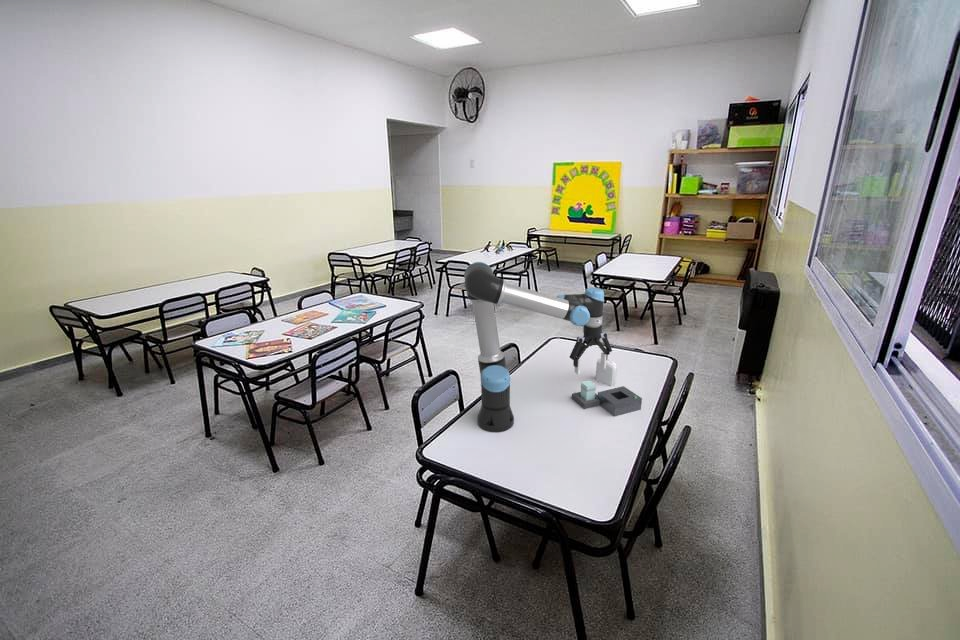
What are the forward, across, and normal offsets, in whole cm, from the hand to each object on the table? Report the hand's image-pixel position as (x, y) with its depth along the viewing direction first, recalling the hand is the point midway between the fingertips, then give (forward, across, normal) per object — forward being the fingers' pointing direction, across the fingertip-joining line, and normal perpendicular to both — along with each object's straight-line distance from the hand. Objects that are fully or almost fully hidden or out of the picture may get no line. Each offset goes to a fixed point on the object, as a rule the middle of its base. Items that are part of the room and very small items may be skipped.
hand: (590, 370), depth 191 cm
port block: (+16, +10, -9) cm, 21 cm away
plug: (+16, 0, 0) cm, 16 cm away
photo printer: (+16, +19, +12) cm, 28 cm away
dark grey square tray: (+16, 0, 0) cm, 16 cm away
